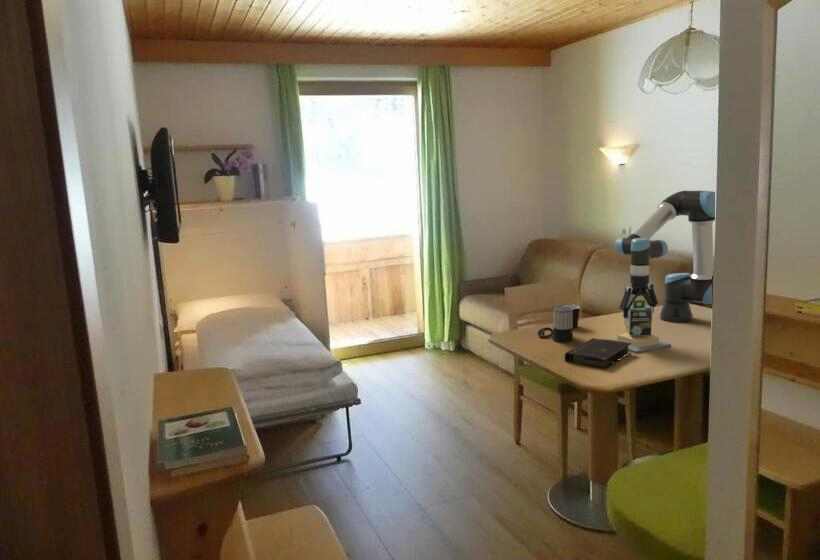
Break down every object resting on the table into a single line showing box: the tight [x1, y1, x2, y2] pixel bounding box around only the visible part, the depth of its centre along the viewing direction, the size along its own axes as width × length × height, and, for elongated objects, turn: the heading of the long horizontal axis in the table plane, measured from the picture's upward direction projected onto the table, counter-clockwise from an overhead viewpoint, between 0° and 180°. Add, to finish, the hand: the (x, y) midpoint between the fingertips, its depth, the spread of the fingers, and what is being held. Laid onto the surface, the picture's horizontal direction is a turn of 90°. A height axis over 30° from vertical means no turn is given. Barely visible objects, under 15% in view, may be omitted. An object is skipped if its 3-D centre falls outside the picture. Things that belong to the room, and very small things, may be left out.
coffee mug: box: [561, 304, 581, 329], centre depth 300 cm, size 12×9×10 cm
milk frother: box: [537, 306, 574, 344], centre depth 280 cm, size 14×16×15 cm
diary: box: [564, 337, 632, 370], centre depth 252 cm, size 19×25×5 cm
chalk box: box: [625, 299, 653, 335], centre depth 265 cm, size 9×9×15 cm
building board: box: [612, 332, 672, 354], centre depth 267 cm, size 20×18×4 cm
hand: (638, 322), depth 265 cm, fingers closed on chalk box, 12 cm apart
